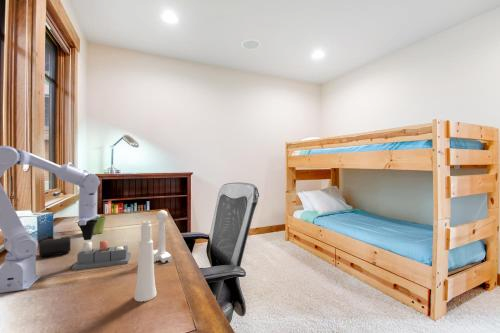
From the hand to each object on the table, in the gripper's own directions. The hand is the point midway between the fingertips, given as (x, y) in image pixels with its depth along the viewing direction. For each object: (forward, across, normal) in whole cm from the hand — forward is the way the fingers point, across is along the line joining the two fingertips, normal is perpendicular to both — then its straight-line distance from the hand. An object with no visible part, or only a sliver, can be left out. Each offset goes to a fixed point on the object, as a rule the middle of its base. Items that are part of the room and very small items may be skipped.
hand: (87, 239), depth 92 cm
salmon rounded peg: (+6, 0, -6) cm, 8 cm away
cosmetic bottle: (+10, -32, -22) cm, 40 cm away
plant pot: (+10, +48, +8) cm, 50 cm away
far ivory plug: (+9, 0, -11) cm, 14 cm away
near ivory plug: (+6, 0, 0) cm, 6 cm away
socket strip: (+9, 0, -6) cm, 11 cm away
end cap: (+10, +16, +16) cm, 24 cm away
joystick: (+10, -4, -26) cm, 28 cm away
